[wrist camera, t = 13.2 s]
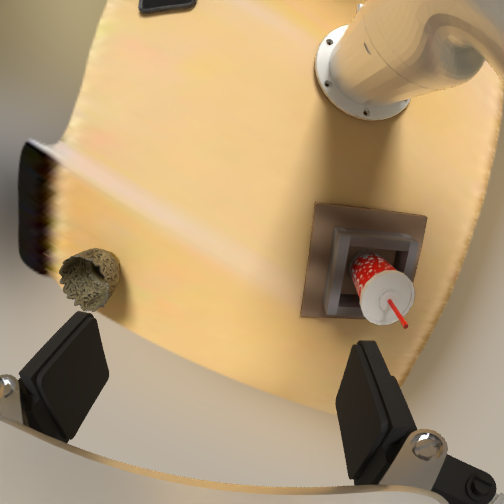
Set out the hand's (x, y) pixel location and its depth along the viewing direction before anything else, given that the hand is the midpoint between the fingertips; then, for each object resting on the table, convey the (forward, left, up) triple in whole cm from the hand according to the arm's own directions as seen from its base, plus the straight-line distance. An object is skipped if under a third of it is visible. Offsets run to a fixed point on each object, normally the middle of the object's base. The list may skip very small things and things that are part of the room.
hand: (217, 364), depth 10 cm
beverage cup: (+6, +15, -28) cm, 32 cm away
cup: (+9, -20, -28) cm, 36 cm away
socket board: (+6, +15, -28) cm, 32 cm away
